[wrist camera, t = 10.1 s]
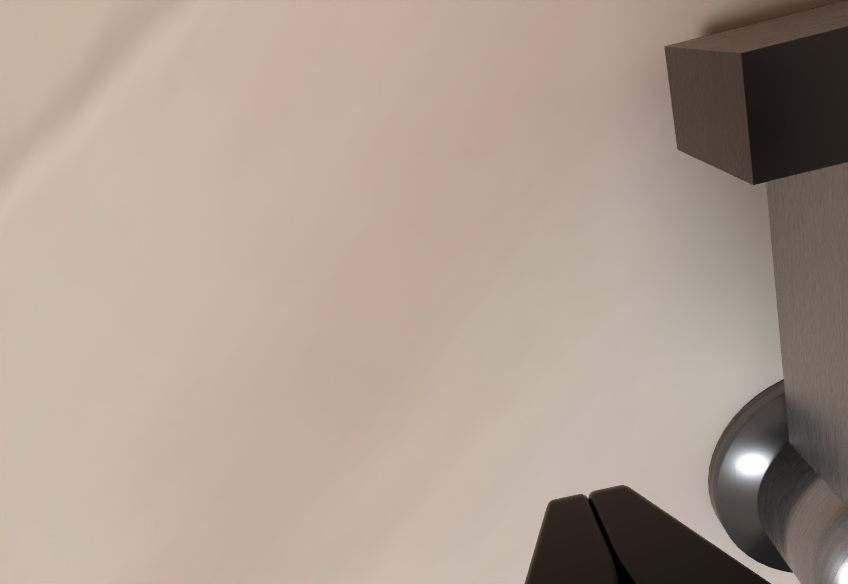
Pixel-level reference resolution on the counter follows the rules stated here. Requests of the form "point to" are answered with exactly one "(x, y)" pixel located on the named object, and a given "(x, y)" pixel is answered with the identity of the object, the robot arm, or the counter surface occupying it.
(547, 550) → the robot arm
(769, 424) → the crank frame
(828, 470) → the crank arm
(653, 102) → the counter surface
